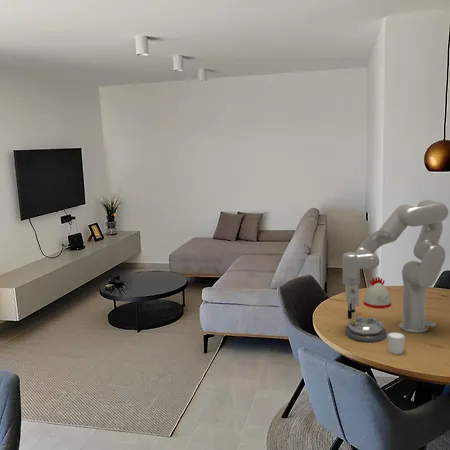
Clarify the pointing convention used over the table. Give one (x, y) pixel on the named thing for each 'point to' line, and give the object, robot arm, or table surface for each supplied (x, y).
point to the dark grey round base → (365, 338)
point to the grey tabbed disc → (365, 325)
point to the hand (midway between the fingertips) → (351, 318)
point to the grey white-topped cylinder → (396, 342)
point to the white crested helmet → (377, 295)
